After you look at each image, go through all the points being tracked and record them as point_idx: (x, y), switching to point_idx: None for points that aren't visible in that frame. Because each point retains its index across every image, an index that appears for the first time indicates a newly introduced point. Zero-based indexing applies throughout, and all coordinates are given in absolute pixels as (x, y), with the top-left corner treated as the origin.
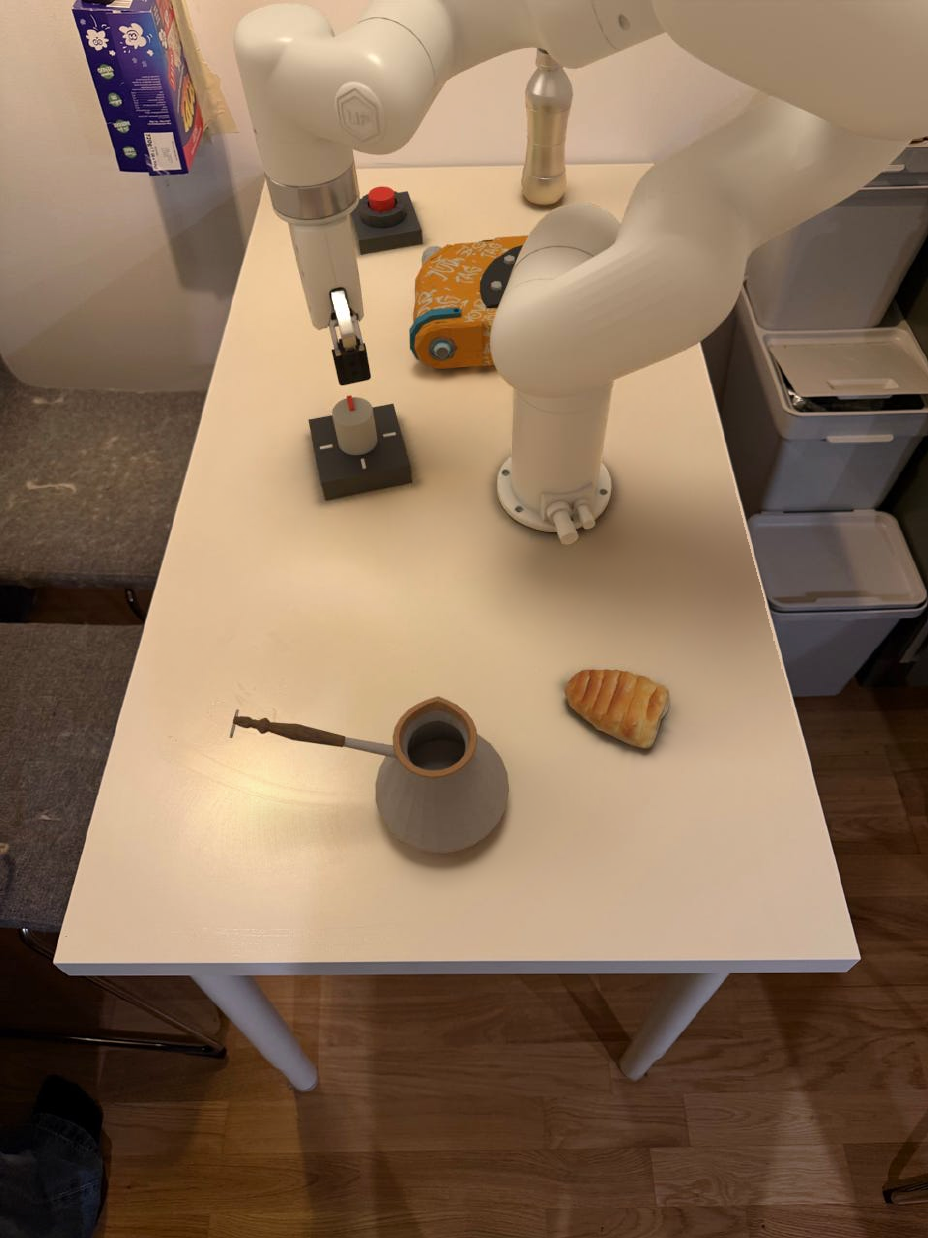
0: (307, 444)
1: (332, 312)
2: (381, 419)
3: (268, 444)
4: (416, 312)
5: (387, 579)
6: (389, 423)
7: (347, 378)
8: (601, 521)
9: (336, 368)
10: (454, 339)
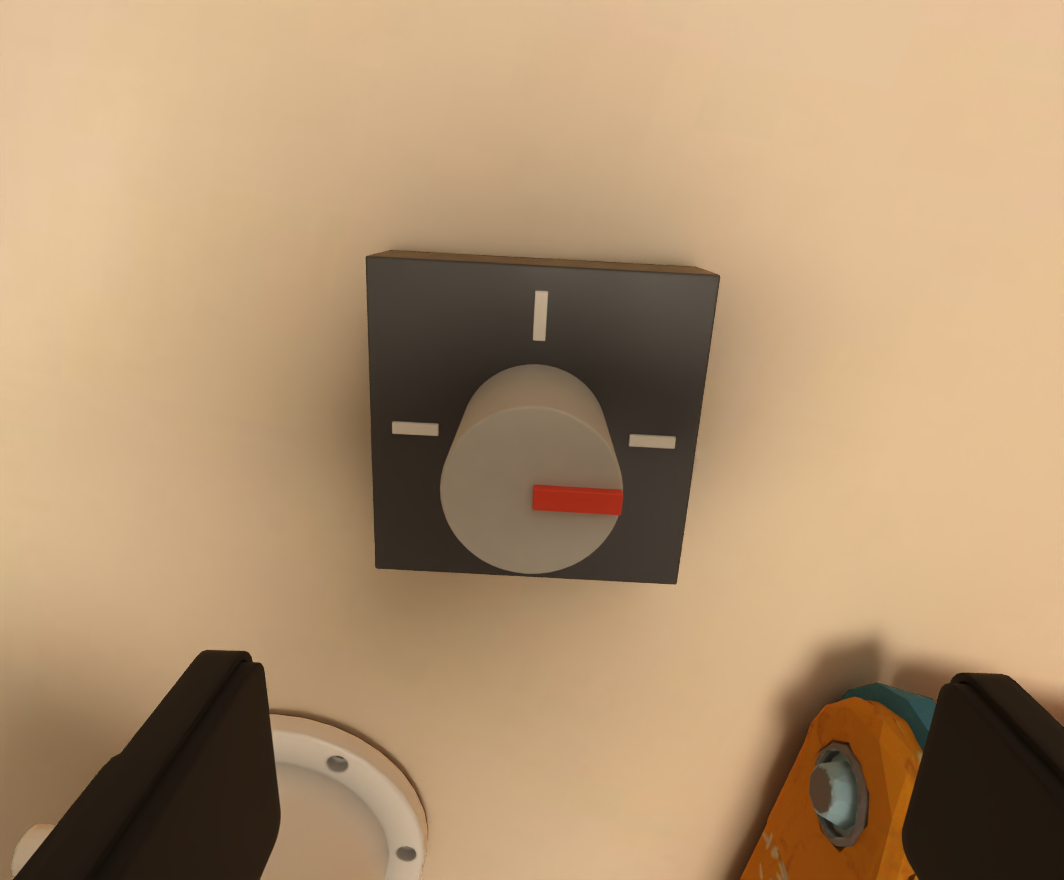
0: (674, 241)
1: (985, 817)
2: (613, 531)
3: (733, 87)
4: None
5: (36, 373)
6: None
7: (110, 765)
8: None
9: (103, 775)
10: (837, 856)
